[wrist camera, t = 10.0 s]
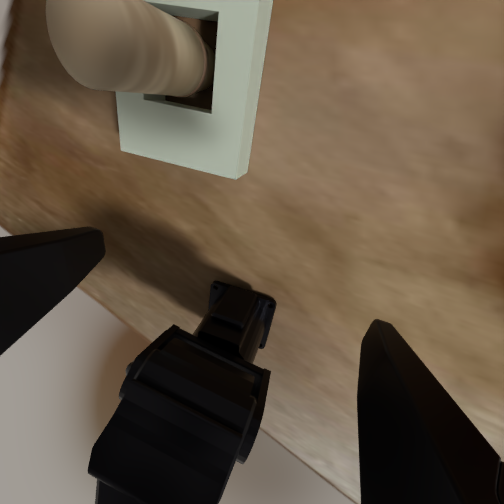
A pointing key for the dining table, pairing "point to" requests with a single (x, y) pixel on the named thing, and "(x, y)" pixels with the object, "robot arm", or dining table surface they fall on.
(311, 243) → the dining table surface
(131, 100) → the board
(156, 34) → the peg
